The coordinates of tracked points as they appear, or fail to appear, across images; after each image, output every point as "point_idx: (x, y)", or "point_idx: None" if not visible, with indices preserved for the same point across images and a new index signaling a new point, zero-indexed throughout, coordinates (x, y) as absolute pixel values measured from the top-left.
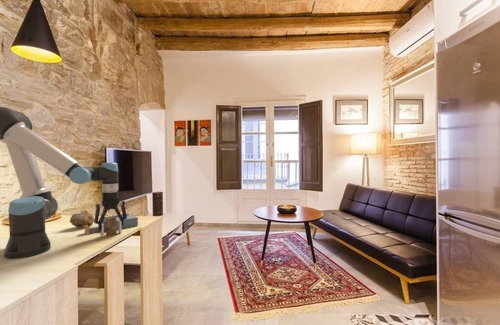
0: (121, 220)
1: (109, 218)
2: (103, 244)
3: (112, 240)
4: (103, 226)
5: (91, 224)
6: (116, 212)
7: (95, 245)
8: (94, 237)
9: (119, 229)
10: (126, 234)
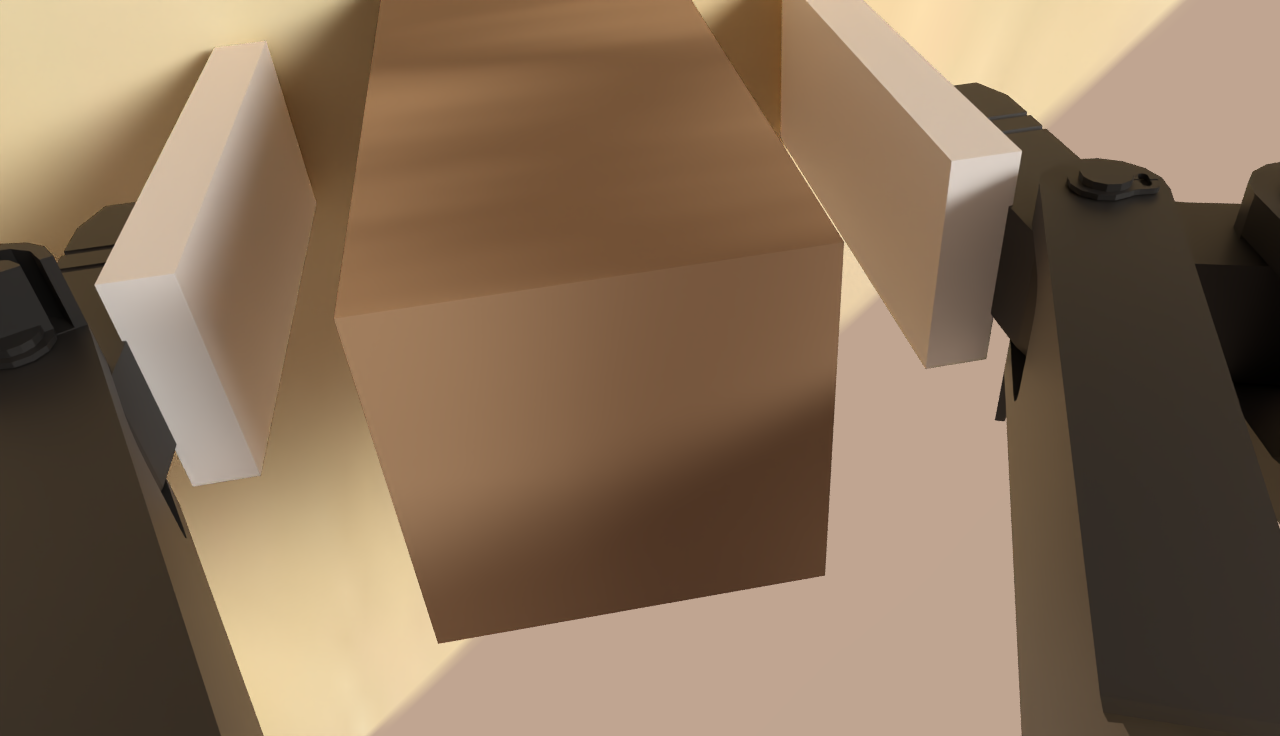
0: (1005, 372)
1: (530, 519)
2: (323, 687)
3: None
4: (269, 403)
5: None
6: (1054, 608)
7: None
8: (13, 45)
9: (816, 137)
10: (875, 295)
